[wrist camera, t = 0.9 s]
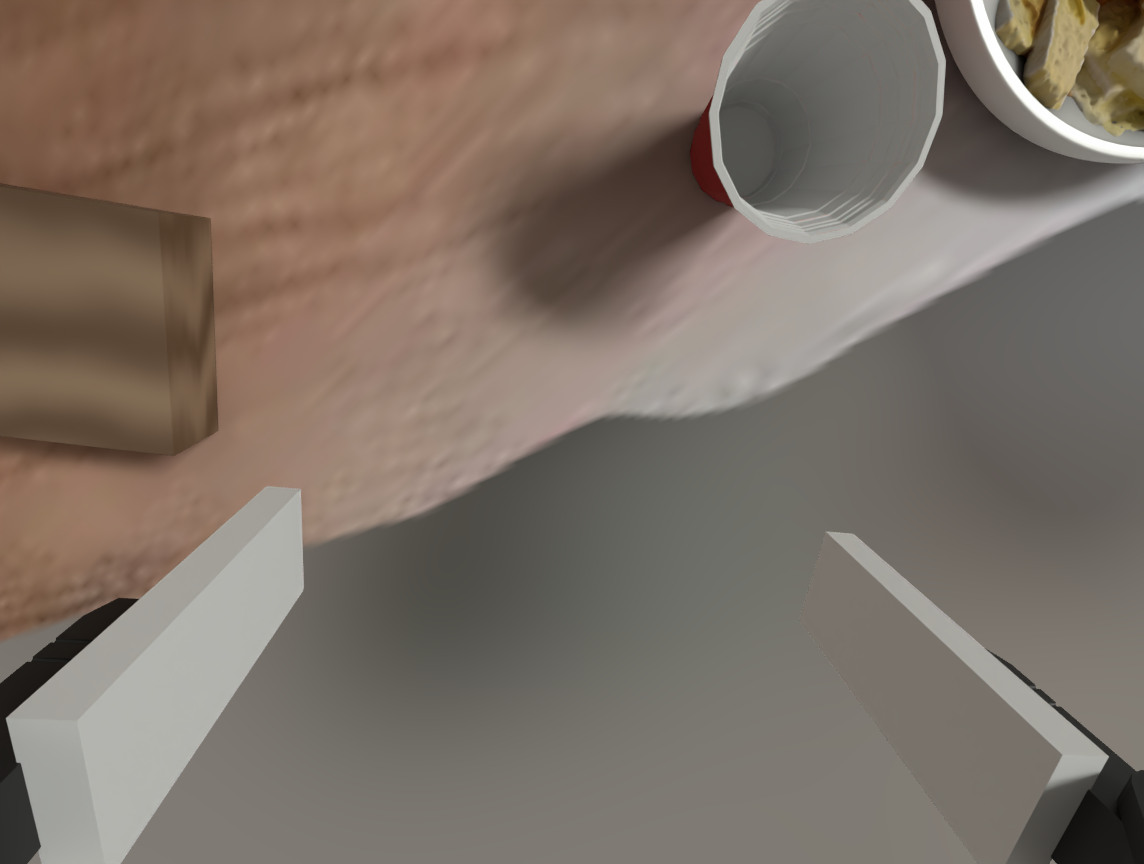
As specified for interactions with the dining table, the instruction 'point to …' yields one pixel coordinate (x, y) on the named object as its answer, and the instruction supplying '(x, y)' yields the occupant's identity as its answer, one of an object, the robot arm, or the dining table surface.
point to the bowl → (1056, 70)
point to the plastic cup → (821, 114)
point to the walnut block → (105, 323)
